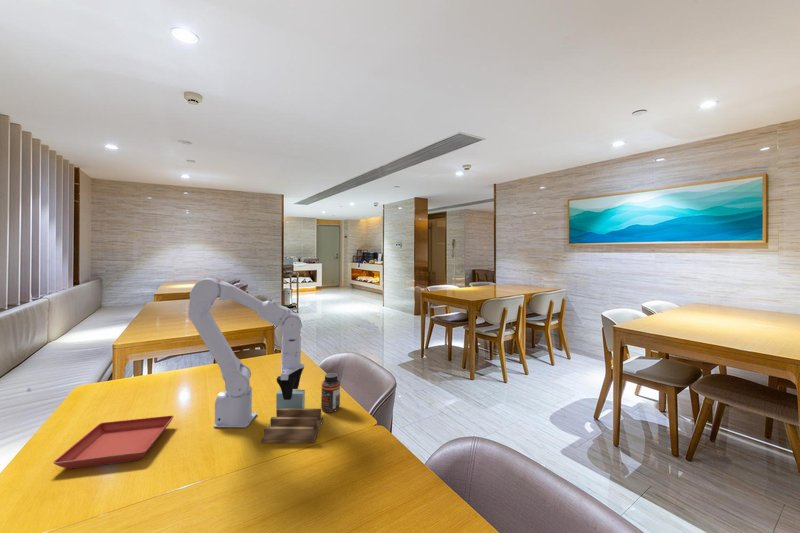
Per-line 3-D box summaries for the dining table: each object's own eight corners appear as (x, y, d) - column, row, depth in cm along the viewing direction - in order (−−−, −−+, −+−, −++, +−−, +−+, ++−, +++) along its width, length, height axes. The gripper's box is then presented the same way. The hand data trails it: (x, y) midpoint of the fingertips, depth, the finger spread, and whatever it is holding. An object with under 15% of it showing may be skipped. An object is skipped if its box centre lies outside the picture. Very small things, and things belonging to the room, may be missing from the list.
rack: (261, 443, 88) (261, 429, 88) (276, 420, 100) (276, 408, 100) (314, 443, 89) (314, 429, 88) (322, 420, 100) (323, 408, 100)
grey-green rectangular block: (276, 415, 103) (276, 393, 103) (279, 410, 106) (279, 389, 106) (302, 415, 103) (302, 393, 103) (304, 411, 106) (304, 389, 106)
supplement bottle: (317, 410, 107) (317, 375, 106) (329, 403, 112) (329, 370, 112) (331, 414, 104) (332, 379, 103) (343, 407, 109) (343, 373, 109)
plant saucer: (51, 476, 74) (50, 462, 74) (100, 433, 91) (100, 421, 91) (145, 465, 79) (145, 451, 79) (175, 426, 96) (174, 414, 96)
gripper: (297, 359, 97) (297, 404, 97) (309, 344, 111) (309, 384, 112) (273, 358, 96) (273, 404, 97) (288, 344, 111) (288, 384, 111)
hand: (291, 393), depth 104 cm, fingers open, 7 cm apart
